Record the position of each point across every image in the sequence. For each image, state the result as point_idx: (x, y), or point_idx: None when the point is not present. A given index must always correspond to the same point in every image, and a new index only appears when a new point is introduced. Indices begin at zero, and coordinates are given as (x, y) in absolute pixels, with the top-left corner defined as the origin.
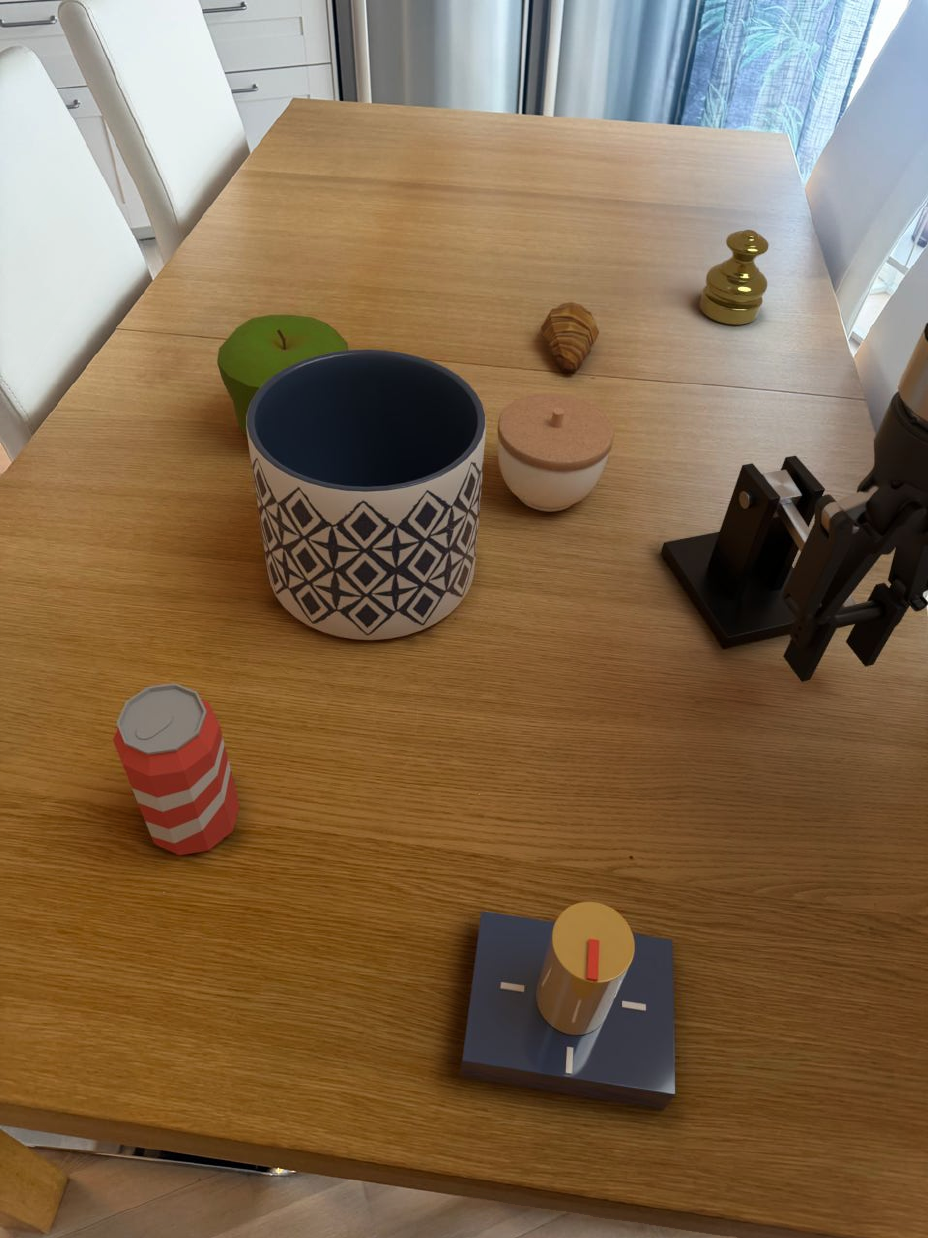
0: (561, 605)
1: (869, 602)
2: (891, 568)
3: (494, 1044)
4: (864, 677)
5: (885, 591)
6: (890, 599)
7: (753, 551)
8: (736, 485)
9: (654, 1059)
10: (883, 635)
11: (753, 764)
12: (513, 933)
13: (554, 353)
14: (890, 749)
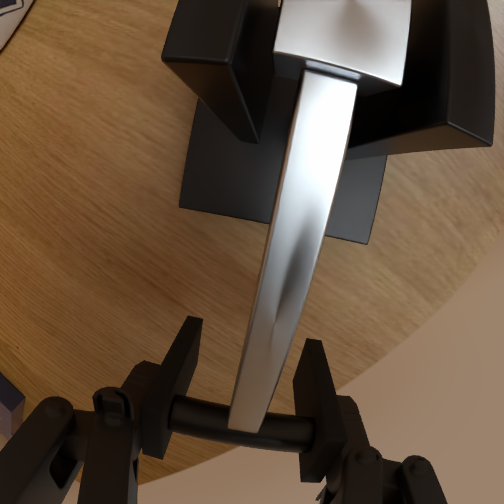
0: (59, 66)
1: (285, 441)
2: (344, 485)
3: None
4: (334, 330)
5: (323, 455)
6: (312, 467)
7: (232, 123)
8: None
9: (3, 430)
10: None
11: (126, 351)
12: None
13: None
14: (275, 403)
